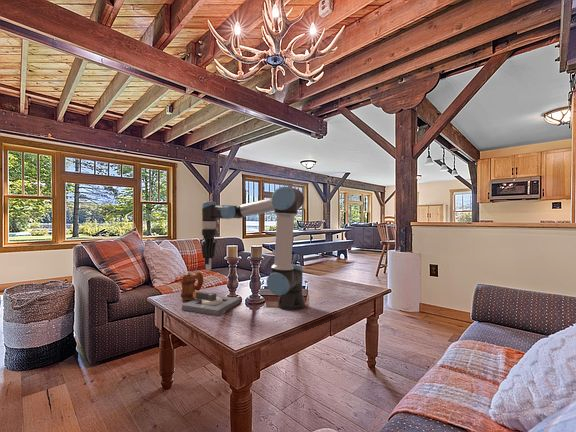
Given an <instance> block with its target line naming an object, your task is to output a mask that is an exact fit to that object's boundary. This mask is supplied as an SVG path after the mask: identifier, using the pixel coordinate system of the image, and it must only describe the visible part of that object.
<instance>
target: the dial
mask: <svg viewBox="0 0 576 432" xmlns="http://www.w3.org/2000/svg"><path fill="white" fill-rule="evenodd" d="M216 295H217V293H215V292H212V293H210V292H203V291H202V292H201V291H197V290H195V292H193V298H194V299H197V298H199V299H202V305H208V306H215V307H216V306H218V305H220V304H221V303H223V299H222V298H220V297H216Z"/></svg>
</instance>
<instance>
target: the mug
mask: <svg viewBox="0 0 576 432" xmlns="http://www.w3.org/2000/svg"><path fill="white" fill-rule="evenodd" d="M181 277H182V279H181V281H180V283H181V293H180V298H181V300H183V301H187V302H190V301H193V300H195V298H193V292H195V291H197V292H200V290H201V289H202V286H203V284H204V276H203V274H202V272H200V271H196V272H195V273H194V274H184V275H182V276H181ZM196 280H197V283H196ZM195 283H196V285H195Z"/></svg>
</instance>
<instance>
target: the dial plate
mask: <svg viewBox="0 0 576 432" xmlns="http://www.w3.org/2000/svg"><path fill="white" fill-rule="evenodd" d="M216 297H220V298H222V299H223V303H221V304H220V305H218V306H216V307H215V306H208V305H202V299H199V298H194V299H192V300H189V301H187V302H185V303H184V304H182V305H181V311H188V312H193V313H201V314H206V315H213V316H219V315H221V314H223V313H225V312H227V311H228V310H230V309H232V308H234V307H235V306H237V305H239V304H240V303H241V298H239V297H232V296H224V295H217V294H216Z"/></svg>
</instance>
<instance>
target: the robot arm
mask: <svg viewBox="0 0 576 432" xmlns="http://www.w3.org/2000/svg"><path fill="white" fill-rule="evenodd" d="M304 201H305V197H304V194H303V191H301V190H300V189H297V188H294V187H291V186H279V187H278V188H276V189H275V190H274V191H273V193H272V195H271V197H270V198H265V199H261V200H256V201H252V202H247V203H243V204H238V205H230V204H224V205H221V204H217V202H216V201H203V202H202V207H201V211H202V212H201V213H202V214H201V215H202V219H201V221H202V223H201V224H202V225H201V228H202V229H201V236H202V237H203V238H202V241H200V242H199V244H200V247H201V248H200V249H201V254H202V258H203V259H205V260H204V261H205V262H204V263H205V271H211V270H212V259H214V257H215V251H216V245H217V242H218V240H217V239H215V236H216V234H217V233H216V232H217V231H216V230H217V229H216V228H217V225H216V223H217V222H216V221H217V219H222V220H223V219H226V220H230V219H243V218H245V217H249V216H255V215H261V214H265V213H266V214H267V213H270V212H273V213H274V214H275V216H276V228H275V244H274V245H275V248H274V263H273V264H271V266H270V274H269V275H268V276H267V279H266V286H267V289H268V290H269V291H270V293H272V294H274V295H276V296H279V297H278V301H277V307H278V308H279V309H281V310H285V311H299V310H303V309H305V308H306V300H305V297H304V295H303V294H304V293H303V278H304V277H303V273H304V271H303V266H302V265H301V264H292V255H293V254H292V253H293V238H294V222H295V217H296V216H298V209H300V208H301V207H302V206H303V205H304Z"/></svg>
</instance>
